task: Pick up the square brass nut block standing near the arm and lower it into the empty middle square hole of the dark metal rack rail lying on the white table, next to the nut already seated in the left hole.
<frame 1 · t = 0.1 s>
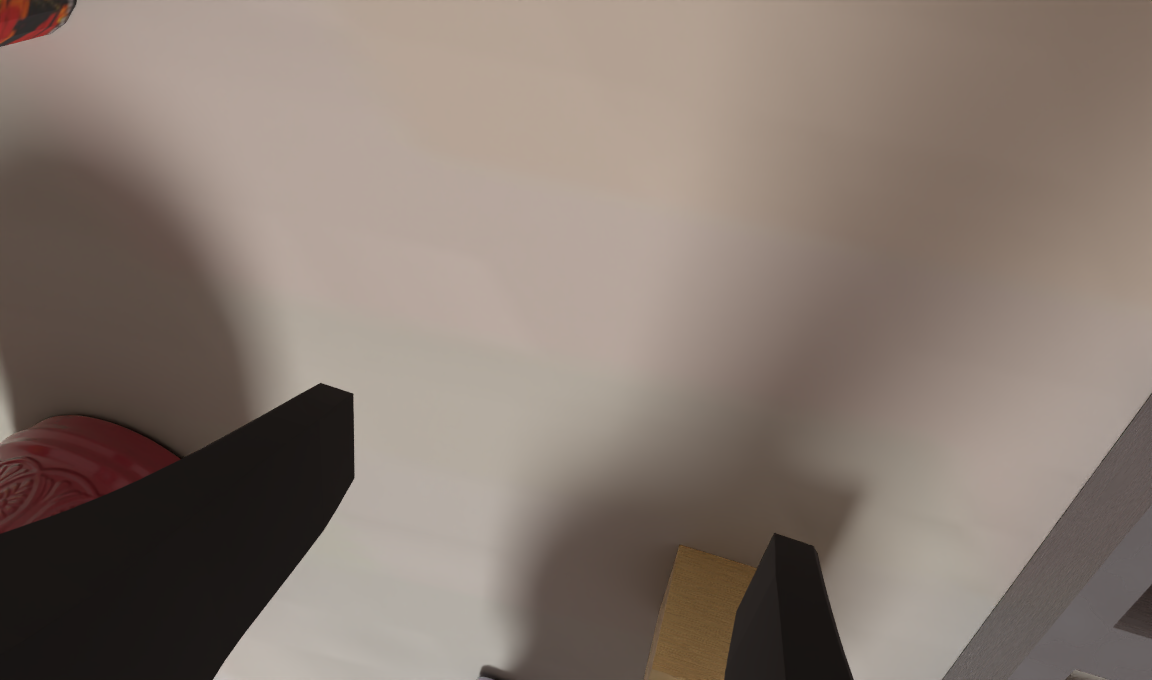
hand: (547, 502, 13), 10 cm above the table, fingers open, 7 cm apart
canister: (148, 513, 36), on the table
brass nut: (722, 595, 28), on the table
rack rail: (1103, 675, 24), on the table
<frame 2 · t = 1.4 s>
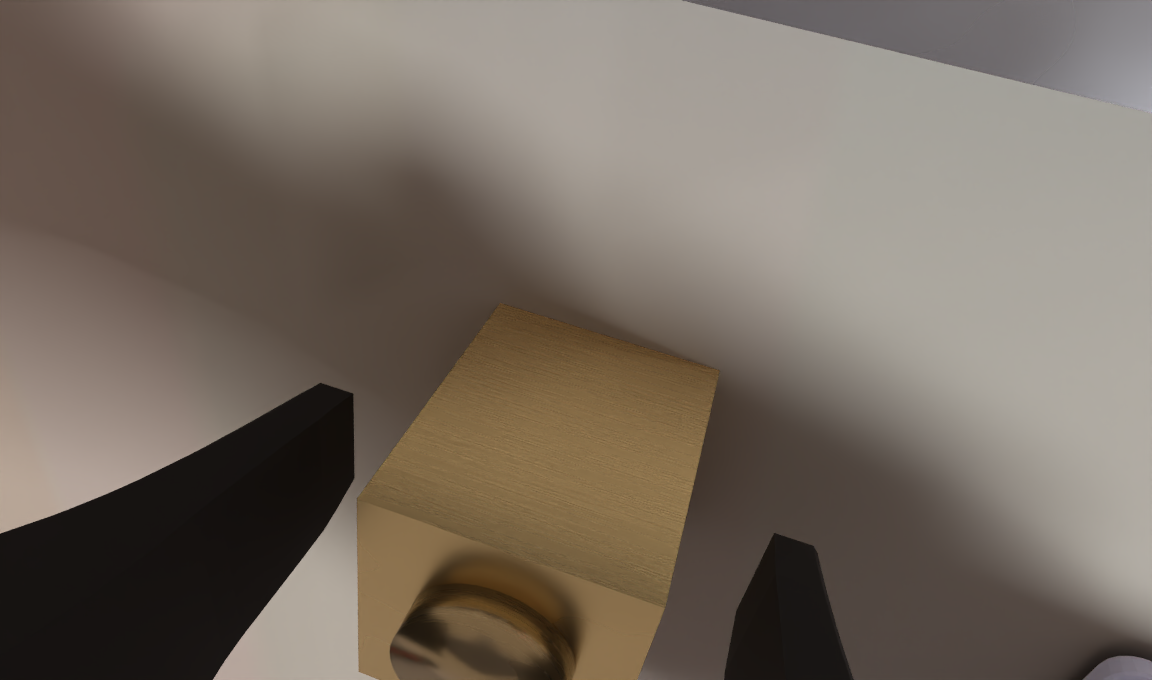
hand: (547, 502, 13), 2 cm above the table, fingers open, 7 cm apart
brass nut: (588, 419, 14), on the table
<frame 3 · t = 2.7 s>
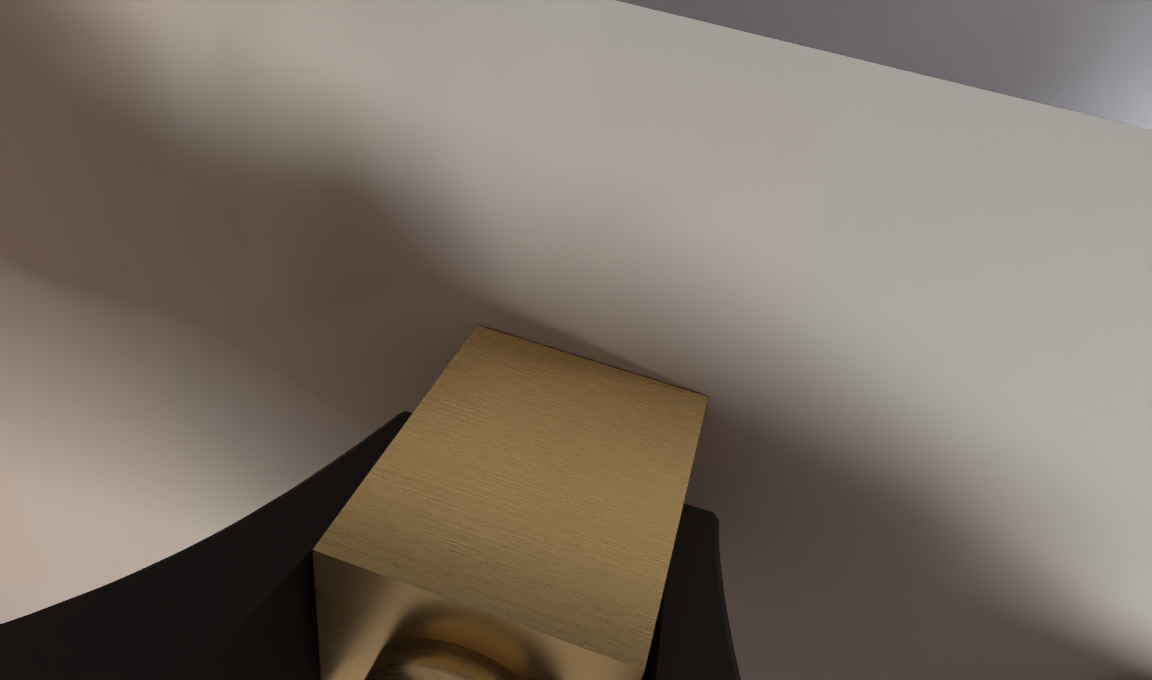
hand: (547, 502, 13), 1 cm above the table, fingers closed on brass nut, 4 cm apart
brass nut: (571, 446, 14), on the table, touching gripper
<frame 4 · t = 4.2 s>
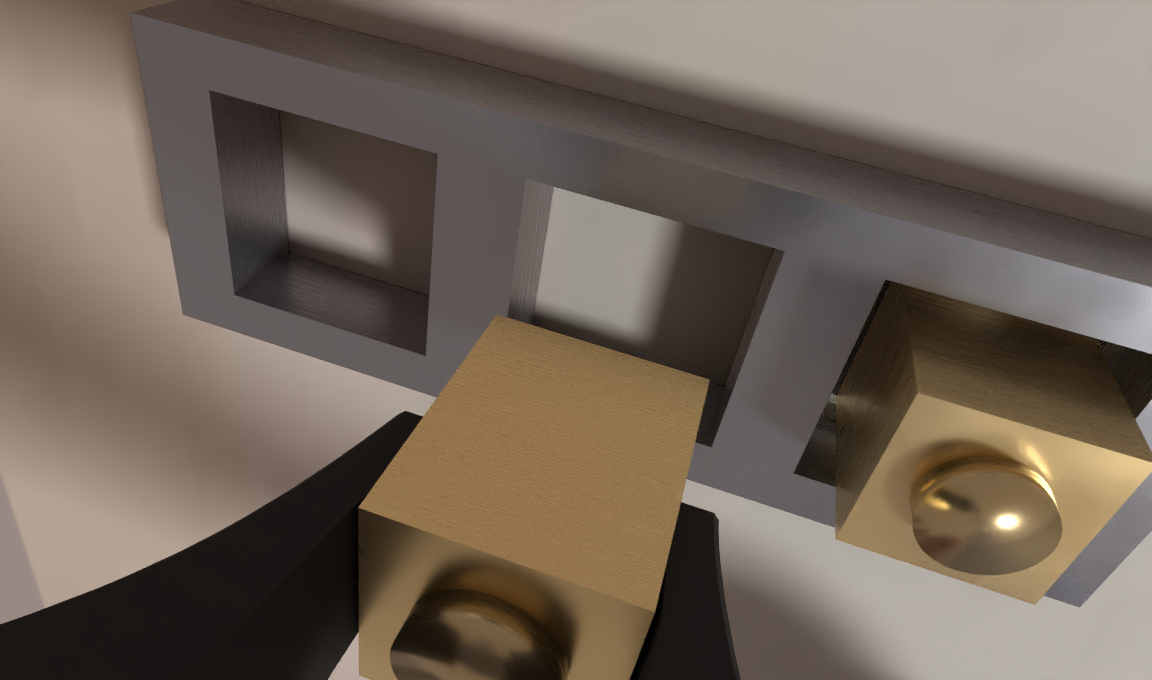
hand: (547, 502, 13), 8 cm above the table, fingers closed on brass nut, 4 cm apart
seated nut: (949, 357, 18), resting in rack rail
brass nut: (582, 428, 15), point 6 cm above the table, touching gripper
rack rail: (647, 271, 19), on the table
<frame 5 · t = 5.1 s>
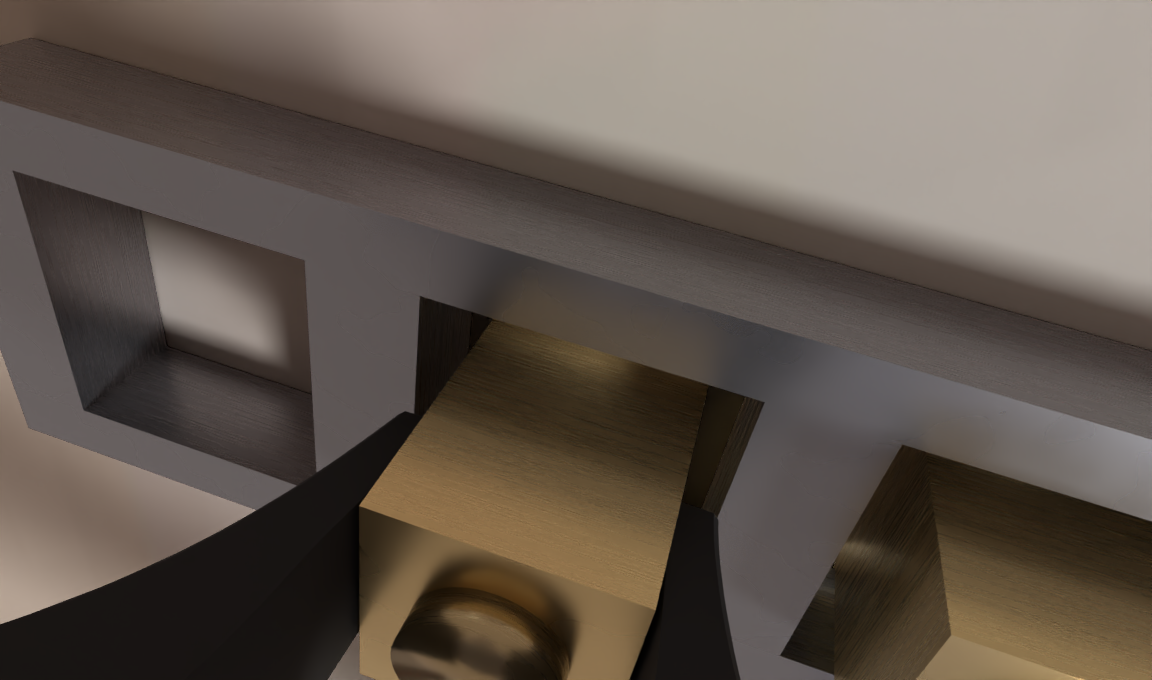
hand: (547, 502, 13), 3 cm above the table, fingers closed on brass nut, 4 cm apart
seated nut: (980, 505, 14), resting in rack rail
brass nut: (582, 426, 15), point 1 cm above the table, touching gripper
rack rail: (596, 388, 15), on the table
when the fingers open (3 cm above the table, at t = 5.9 s): brass nut stays where it is, resting in rack rail.
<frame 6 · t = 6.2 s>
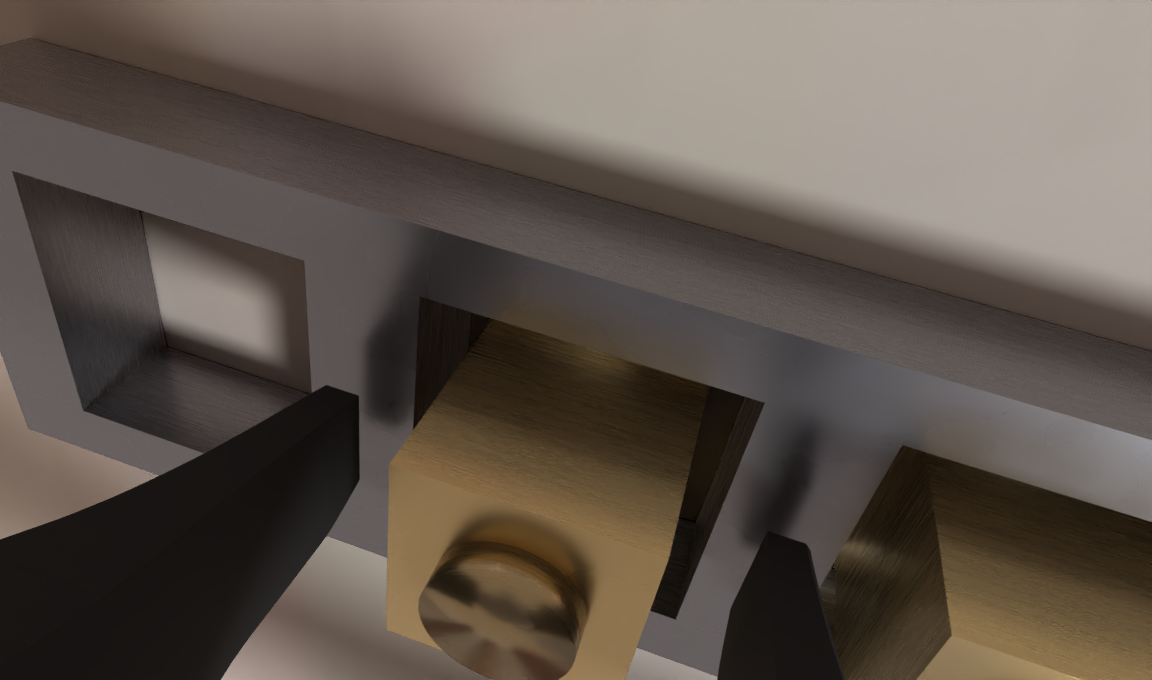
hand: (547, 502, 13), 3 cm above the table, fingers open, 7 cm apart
seated nut: (980, 506, 14), resting in rack rail
brass nut: (595, 399, 15), resting in rack rail
rack rail: (596, 388, 15), on the table
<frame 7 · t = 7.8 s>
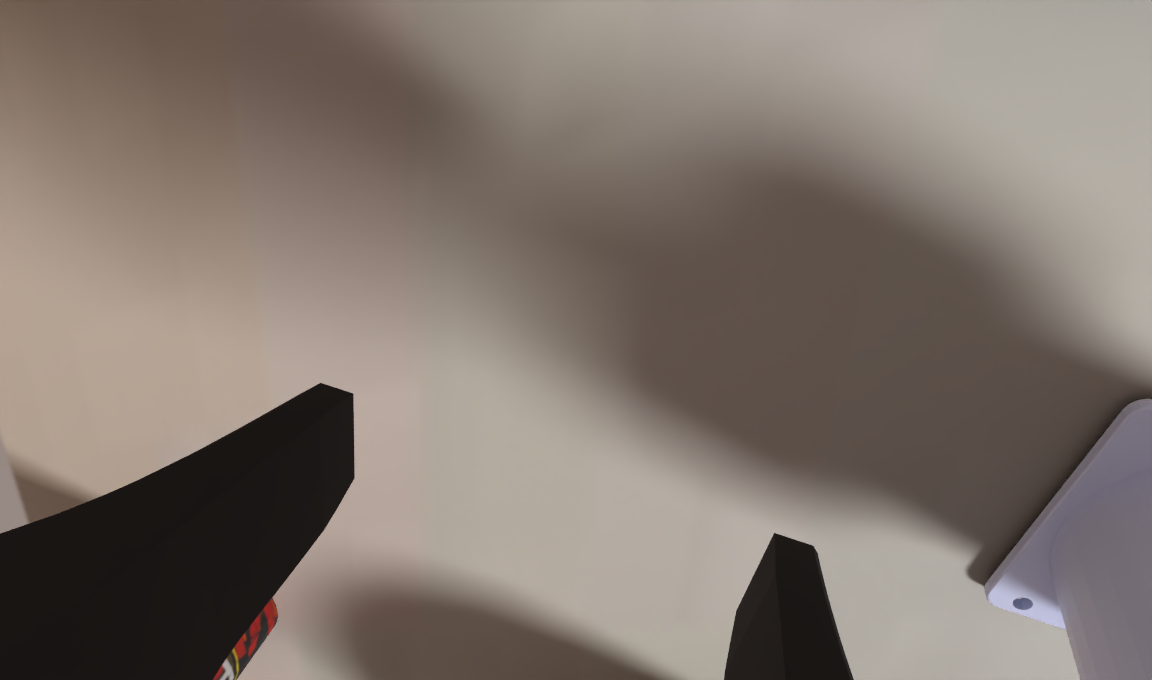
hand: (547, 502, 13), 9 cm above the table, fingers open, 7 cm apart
deodorant: (224, 588, 36), on the table
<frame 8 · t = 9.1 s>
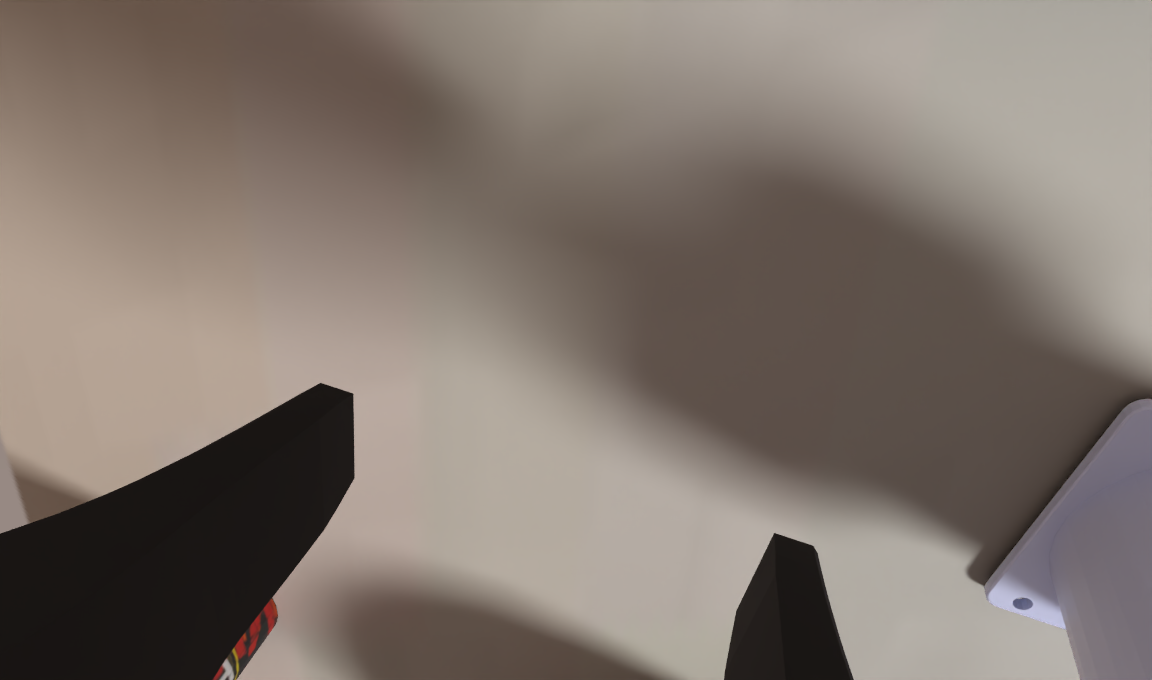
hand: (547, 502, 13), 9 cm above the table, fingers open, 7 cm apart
deodorant: (224, 588, 36), on the table
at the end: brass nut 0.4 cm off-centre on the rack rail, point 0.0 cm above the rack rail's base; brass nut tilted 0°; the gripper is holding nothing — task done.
